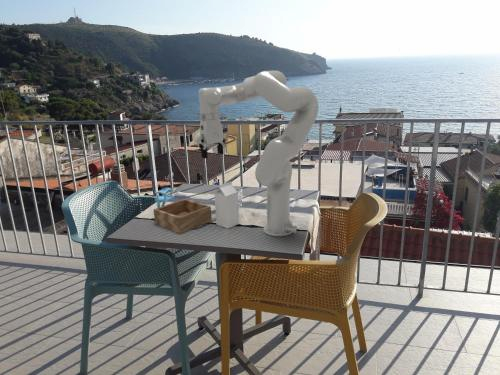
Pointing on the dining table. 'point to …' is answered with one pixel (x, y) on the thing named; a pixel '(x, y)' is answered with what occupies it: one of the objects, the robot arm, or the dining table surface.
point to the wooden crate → (182, 215)
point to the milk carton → (226, 206)
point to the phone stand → (164, 197)
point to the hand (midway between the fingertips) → (212, 155)
